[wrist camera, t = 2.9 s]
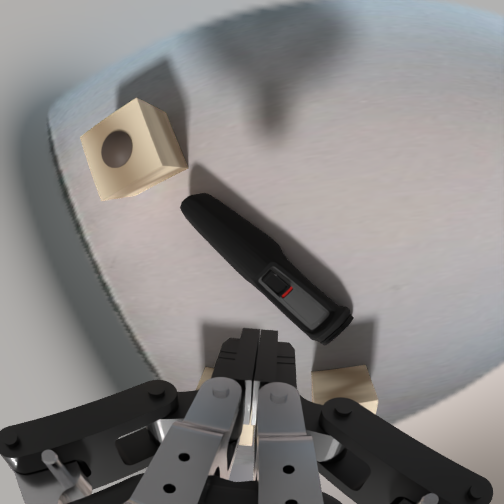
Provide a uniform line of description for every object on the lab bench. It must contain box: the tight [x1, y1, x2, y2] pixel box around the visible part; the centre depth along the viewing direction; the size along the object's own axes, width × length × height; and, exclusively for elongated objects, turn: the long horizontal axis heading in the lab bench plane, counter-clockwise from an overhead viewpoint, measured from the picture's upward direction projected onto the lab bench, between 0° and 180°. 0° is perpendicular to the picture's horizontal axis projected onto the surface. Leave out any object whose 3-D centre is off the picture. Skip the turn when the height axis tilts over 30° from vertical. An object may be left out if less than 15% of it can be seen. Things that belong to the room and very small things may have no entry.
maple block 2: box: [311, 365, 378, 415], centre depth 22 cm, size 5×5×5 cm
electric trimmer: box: [180, 193, 354, 345], centre depth 21 cm, size 4×16×3 cm, turn 48°
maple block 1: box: [80, 98, 188, 201], centre depth 18 cm, size 5×5×5 cm
